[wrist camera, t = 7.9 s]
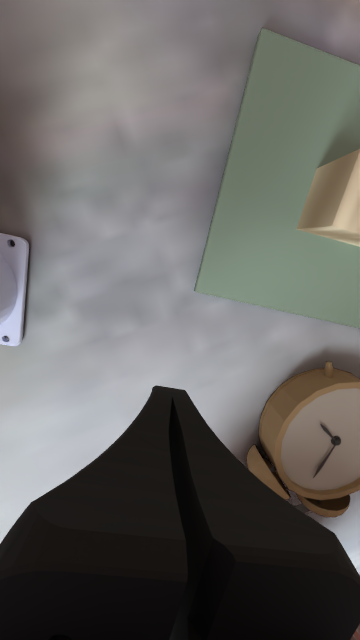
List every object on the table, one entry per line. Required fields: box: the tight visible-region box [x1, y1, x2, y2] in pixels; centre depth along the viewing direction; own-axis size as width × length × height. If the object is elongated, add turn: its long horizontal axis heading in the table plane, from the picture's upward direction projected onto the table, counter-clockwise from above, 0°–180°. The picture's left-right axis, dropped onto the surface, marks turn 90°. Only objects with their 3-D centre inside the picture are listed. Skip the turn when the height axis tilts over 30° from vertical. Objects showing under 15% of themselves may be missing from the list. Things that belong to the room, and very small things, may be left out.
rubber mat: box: [194, 28, 360, 328], centre depth 19 cm, size 20×16×1 cm
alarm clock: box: [247, 361, 360, 517], centre depth 23 cm, size 11×5×15 cm
